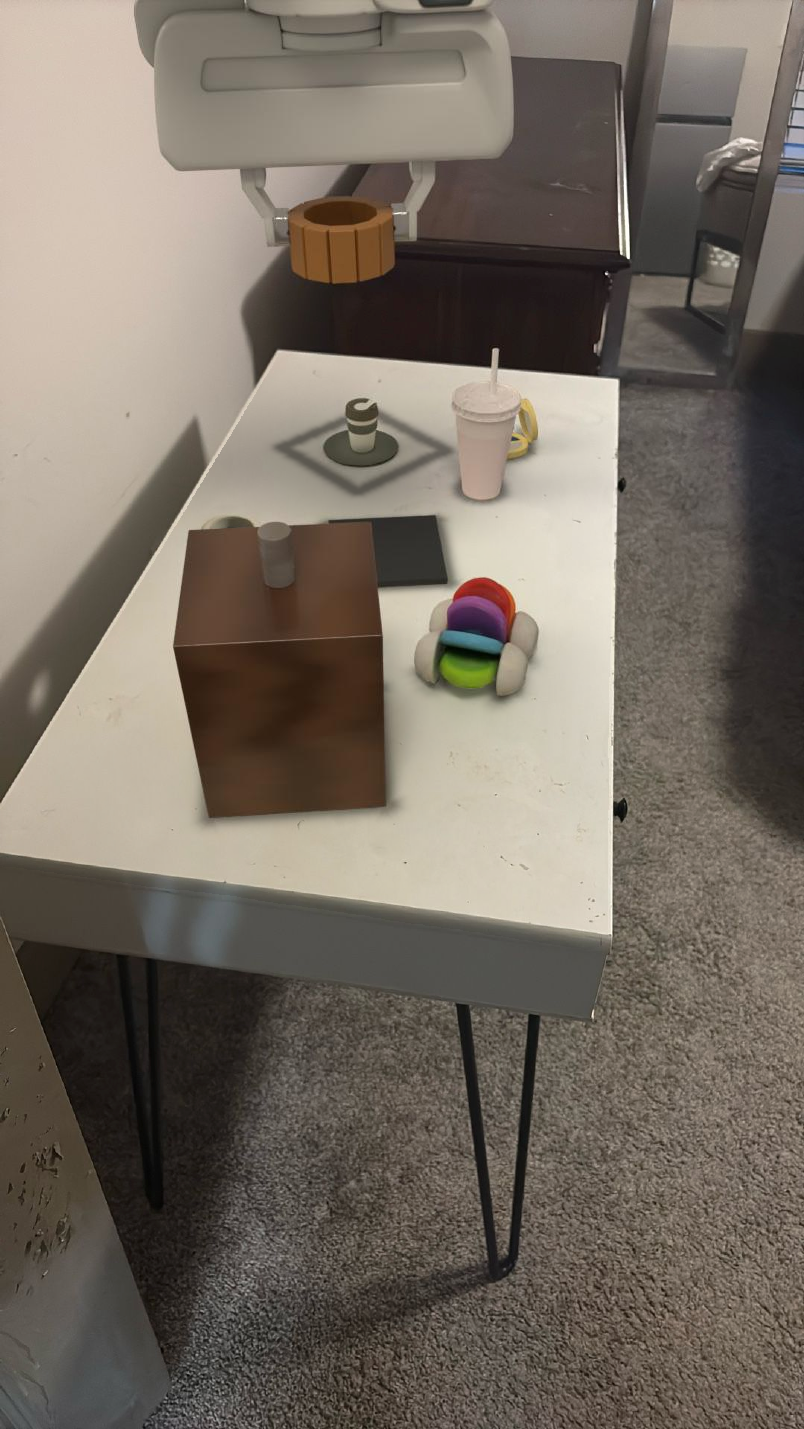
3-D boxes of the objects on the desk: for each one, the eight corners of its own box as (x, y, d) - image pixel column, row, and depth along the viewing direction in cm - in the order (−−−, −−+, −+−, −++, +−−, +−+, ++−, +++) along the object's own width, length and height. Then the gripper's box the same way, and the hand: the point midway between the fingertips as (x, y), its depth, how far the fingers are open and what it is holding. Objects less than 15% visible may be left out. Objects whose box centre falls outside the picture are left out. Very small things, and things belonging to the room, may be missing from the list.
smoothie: (516, 507, 95) (528, 365, 85) (448, 507, 95) (453, 365, 85) (512, 473, 100) (523, 334, 90) (447, 472, 100) (452, 334, 90)
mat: (331, 589, 86) (331, 583, 85) (328, 525, 93) (328, 519, 93) (447, 583, 86) (447, 577, 86) (435, 520, 94) (435, 514, 93)
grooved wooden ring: (291, 285, 60) (286, 233, 58) (292, 248, 65) (288, 198, 63) (397, 281, 60) (396, 228, 58) (390, 243, 65) (389, 194, 63)
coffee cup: (282, 447, 104) (277, 402, 100) (369, 410, 109) (367, 366, 106) (357, 492, 97) (355, 445, 94) (445, 450, 103) (447, 405, 100)
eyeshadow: (479, 440, 104) (482, 395, 101) (524, 434, 105) (528, 390, 102) (492, 460, 101) (495, 415, 98) (539, 454, 102) (543, 409, 99)
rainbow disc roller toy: (541, 639, 81) (550, 564, 76) (514, 718, 74) (522, 642, 69) (441, 619, 83) (443, 545, 78) (405, 694, 76) (405, 619, 71)
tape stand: (208, 818, 67) (162, 596, 54) (217, 697, 76) (180, 482, 63) (386, 807, 68) (381, 586, 55) (375, 688, 77) (369, 474, 64)
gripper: (118, -20, 49) (168, 267, 59) (528, -34, 50) (511, 252, 60) (133, -39, 54) (178, 230, 64) (509, -52, 55) (497, 217, 64)
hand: (342, 241), depth 62 cm, fingers closed on grooved wooden ring, 6 cm apart
